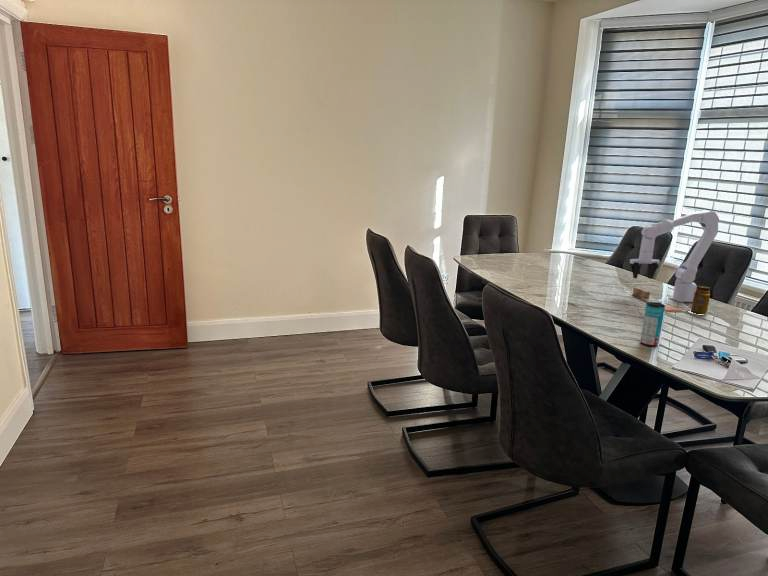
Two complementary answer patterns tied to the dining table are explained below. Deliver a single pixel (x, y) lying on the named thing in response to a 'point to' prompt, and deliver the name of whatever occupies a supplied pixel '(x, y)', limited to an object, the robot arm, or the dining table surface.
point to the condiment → (700, 300)
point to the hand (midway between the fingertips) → (642, 278)
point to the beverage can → (652, 324)
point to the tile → (671, 309)
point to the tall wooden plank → (643, 295)
